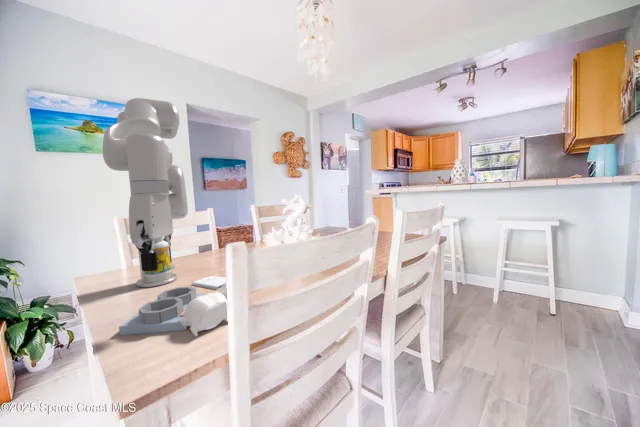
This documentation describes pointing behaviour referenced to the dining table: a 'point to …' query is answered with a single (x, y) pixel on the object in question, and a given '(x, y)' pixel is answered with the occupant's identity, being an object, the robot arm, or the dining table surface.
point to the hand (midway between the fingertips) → (157, 266)
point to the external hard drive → (210, 282)
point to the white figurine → (206, 311)
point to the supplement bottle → (160, 258)
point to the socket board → (152, 327)
